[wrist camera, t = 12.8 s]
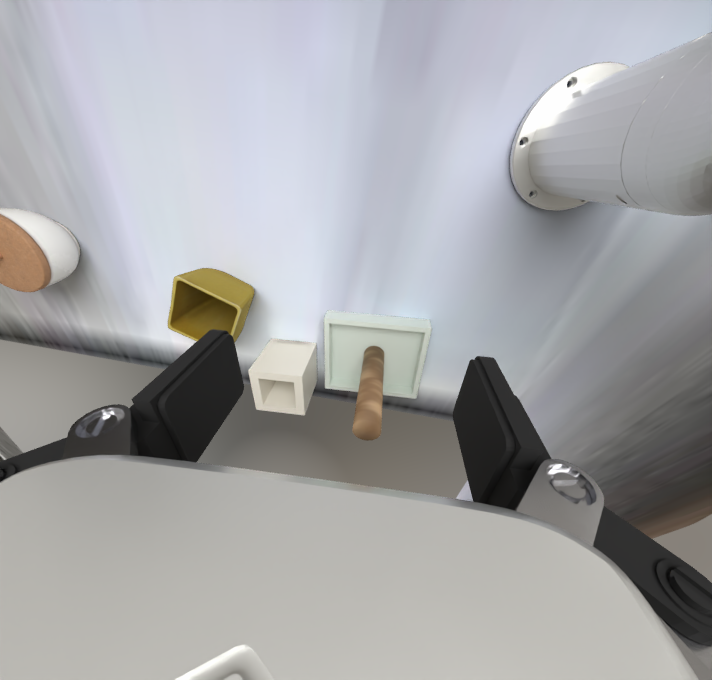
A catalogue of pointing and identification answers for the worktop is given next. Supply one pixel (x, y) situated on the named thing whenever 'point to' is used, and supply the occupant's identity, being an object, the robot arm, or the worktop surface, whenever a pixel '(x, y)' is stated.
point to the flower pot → (208, 303)
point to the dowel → (370, 395)
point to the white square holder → (284, 376)
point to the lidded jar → (34, 250)
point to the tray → (390, 333)
